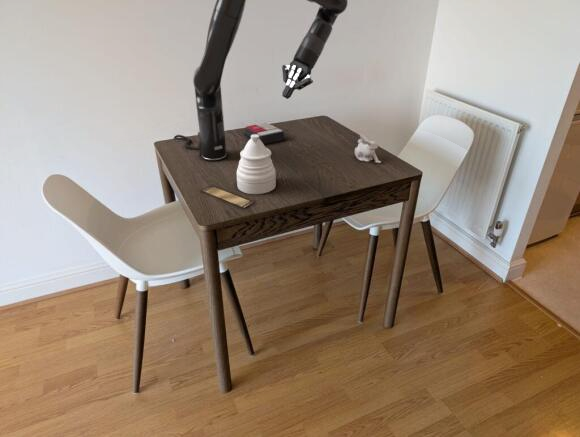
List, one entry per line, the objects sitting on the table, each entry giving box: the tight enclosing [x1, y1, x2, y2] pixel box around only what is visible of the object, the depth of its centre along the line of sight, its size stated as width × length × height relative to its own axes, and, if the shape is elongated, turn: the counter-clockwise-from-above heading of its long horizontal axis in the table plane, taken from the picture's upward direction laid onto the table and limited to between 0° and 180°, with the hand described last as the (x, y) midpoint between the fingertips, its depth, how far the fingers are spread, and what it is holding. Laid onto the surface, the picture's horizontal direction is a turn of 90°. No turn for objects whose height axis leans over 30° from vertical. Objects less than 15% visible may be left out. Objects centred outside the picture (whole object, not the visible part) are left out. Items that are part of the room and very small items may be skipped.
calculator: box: [244, 122, 285, 145], centre depth 180 cm, size 11×4×15 cm
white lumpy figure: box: [354, 134, 382, 164], centre depth 158 cm, size 12×8×10 cm, turn 32°
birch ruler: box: [203, 185, 254, 209], centre depth 135 cm, size 18×4×1 cm, turn 53°
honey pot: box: [236, 134, 277, 195], centre depth 138 cm, size 13×13×18 cm
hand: (285, 97), depth 146 cm, fingers closed
